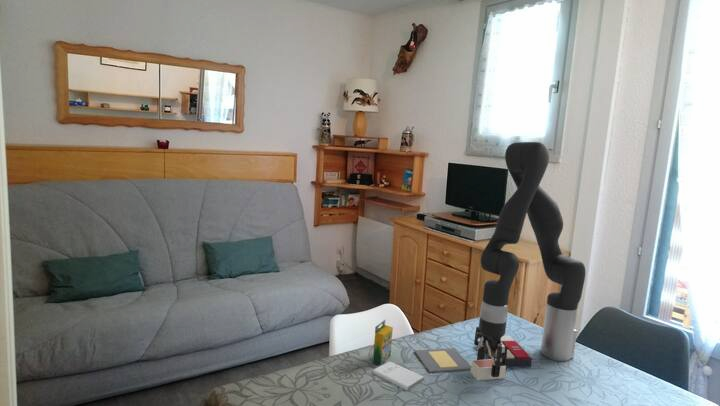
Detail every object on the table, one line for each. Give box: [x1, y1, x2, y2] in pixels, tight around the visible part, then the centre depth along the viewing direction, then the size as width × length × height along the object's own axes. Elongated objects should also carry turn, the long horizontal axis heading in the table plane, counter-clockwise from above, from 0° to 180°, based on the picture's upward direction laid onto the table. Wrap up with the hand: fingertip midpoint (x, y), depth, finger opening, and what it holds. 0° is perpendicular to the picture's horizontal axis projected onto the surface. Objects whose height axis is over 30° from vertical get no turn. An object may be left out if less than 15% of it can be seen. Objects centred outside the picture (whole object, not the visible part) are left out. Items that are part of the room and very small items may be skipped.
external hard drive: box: [372, 361, 425, 391], centre depth 129 cm, size 2×8×12 cm
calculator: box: [484, 334, 533, 368], centre depth 146 cm, size 11×4×15 cm
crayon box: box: [372, 319, 394, 366], centre depth 137 cm, size 7×3×12 cm, turn 152°
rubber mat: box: [414, 347, 471, 374], centre depth 140 cm, size 14×13×1 cm
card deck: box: [469, 358, 507, 381], centre depth 132 cm, size 9×4×4 cm, turn 103°
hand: (487, 368), depth 132 cm, fingers open, 8 cm apart
